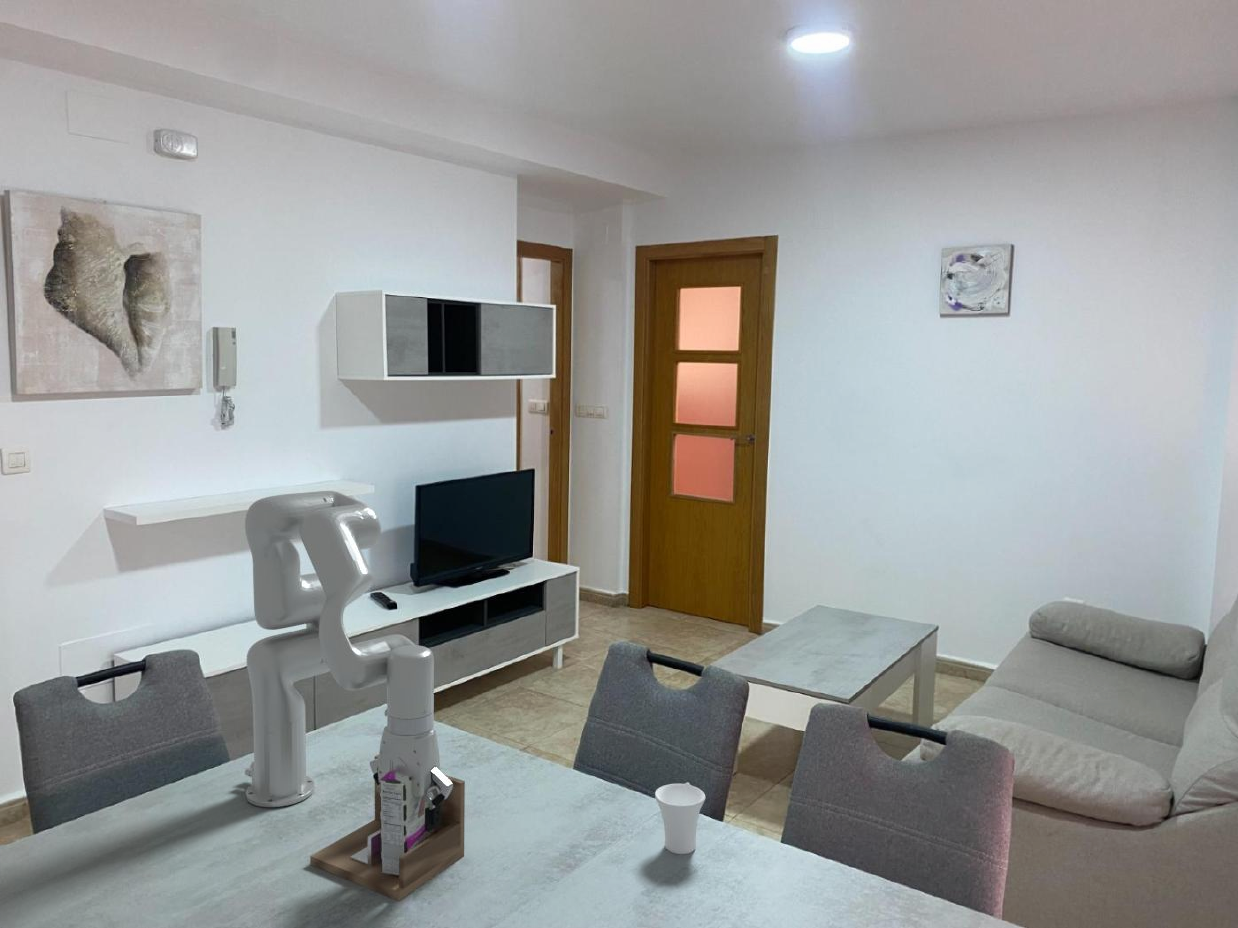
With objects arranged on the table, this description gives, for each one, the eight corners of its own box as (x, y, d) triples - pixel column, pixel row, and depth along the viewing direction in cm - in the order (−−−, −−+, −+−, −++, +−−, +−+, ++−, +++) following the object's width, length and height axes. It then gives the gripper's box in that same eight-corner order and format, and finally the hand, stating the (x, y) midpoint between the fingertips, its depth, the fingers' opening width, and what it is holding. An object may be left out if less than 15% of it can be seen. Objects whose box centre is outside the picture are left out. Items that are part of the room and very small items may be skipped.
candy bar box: (411, 840, 162) (411, 750, 160) (437, 845, 161) (437, 754, 159) (378, 874, 151) (378, 777, 149) (406, 879, 150) (406, 782, 148)
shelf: (310, 864, 156) (309, 787, 155) (378, 824, 170) (378, 754, 169) (399, 900, 146) (399, 819, 145) (464, 855, 160) (464, 780, 159)
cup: (710, 839, 168) (712, 787, 167) (692, 864, 159) (694, 808, 158) (665, 828, 171) (667, 776, 170) (645, 851, 163) (647, 797, 162)
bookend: (350, 858, 156) (350, 830, 155) (392, 833, 164) (392, 806, 164) (371, 866, 153) (371, 837, 153) (412, 840, 162) (412, 813, 161)
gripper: (355, 717, 154) (356, 815, 156) (435, 740, 146) (435, 844, 147) (387, 704, 161) (387, 798, 162) (466, 725, 152) (465, 824, 154)
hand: (410, 820), depth 155 cm, fingers open, 9 cm apart
